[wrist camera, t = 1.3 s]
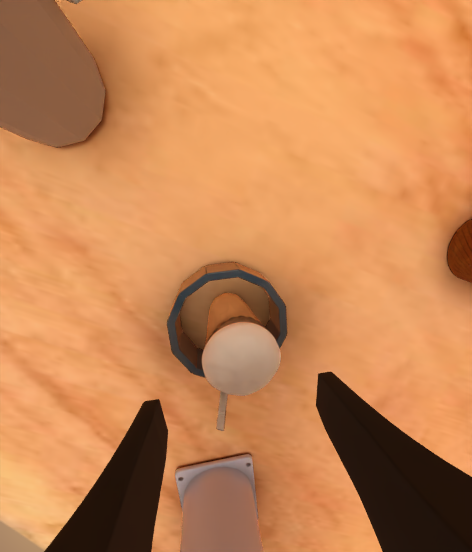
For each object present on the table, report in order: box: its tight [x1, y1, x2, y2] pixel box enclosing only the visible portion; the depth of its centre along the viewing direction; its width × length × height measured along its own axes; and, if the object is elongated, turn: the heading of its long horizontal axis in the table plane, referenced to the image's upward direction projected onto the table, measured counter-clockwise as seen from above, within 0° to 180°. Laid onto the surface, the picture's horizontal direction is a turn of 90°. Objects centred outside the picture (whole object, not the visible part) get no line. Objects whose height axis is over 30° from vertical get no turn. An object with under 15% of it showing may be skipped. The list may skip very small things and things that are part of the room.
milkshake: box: [202, 293, 281, 431], centre depth 17 cm, size 4×5×10 cm
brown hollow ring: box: [167, 262, 287, 378], centre depth 20 cm, size 9×9×3 cm
